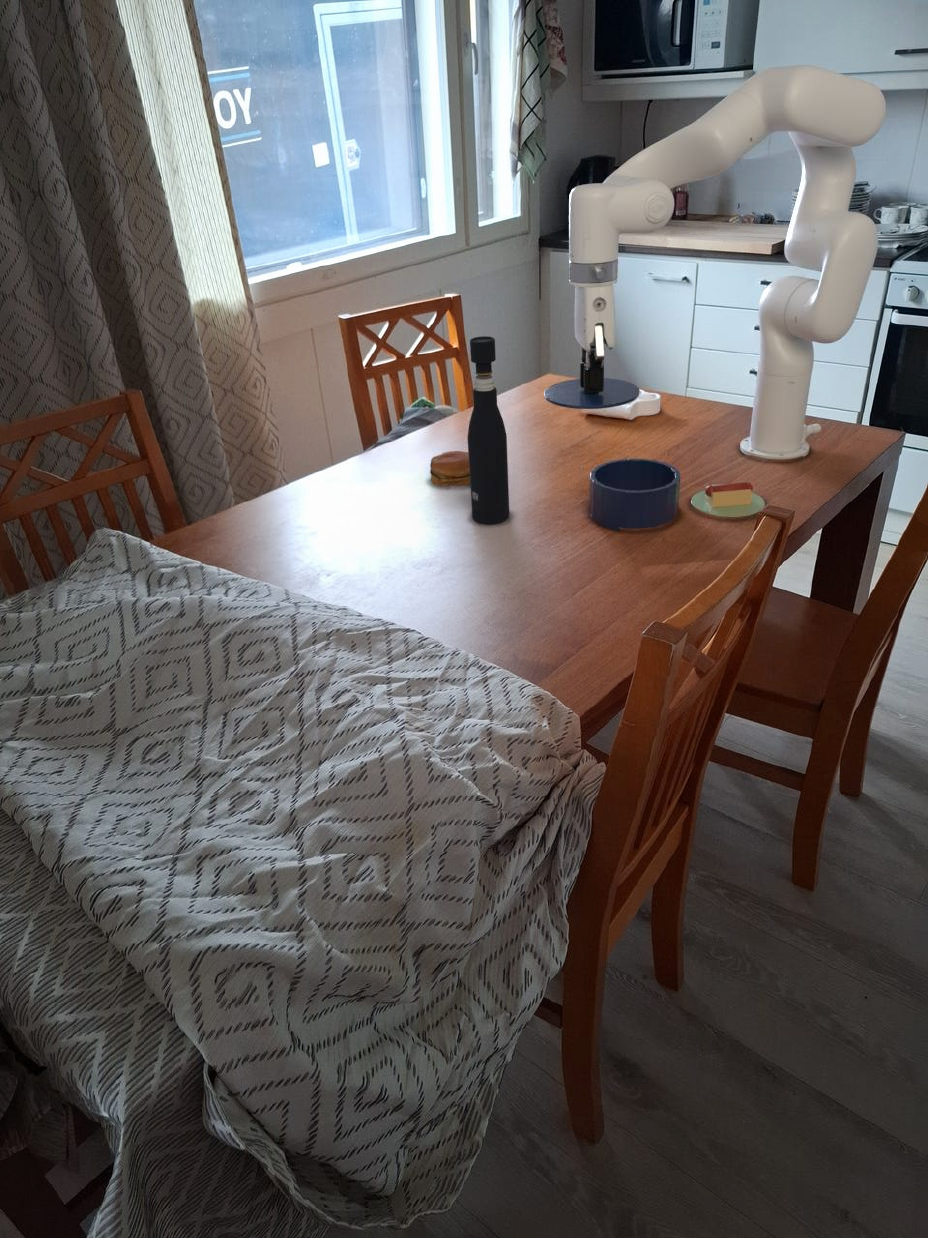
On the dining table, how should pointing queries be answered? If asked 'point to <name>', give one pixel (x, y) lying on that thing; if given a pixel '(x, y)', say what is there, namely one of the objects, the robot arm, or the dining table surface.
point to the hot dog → (729, 494)
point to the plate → (728, 511)
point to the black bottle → (487, 441)
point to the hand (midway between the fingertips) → (591, 388)
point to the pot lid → (591, 394)
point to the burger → (450, 469)
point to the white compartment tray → (631, 407)
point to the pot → (634, 494)
